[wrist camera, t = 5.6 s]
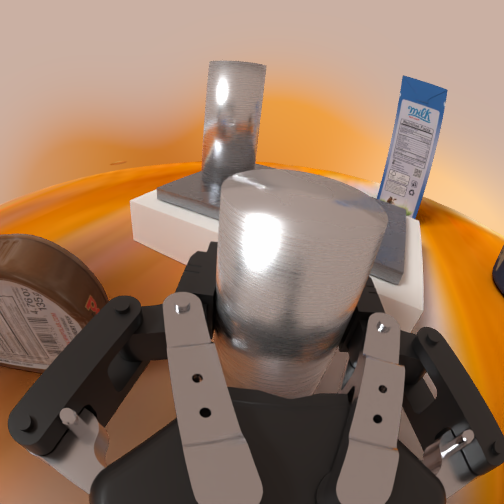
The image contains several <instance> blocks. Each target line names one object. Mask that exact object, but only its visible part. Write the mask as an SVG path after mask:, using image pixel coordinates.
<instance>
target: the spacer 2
mask: <svg viewBox="0 0 504 504" xmlns="http://www.w3.org/2000/svg"><path fill="white" fill-rule="evenodd" d="M387 224H388V216H387V213H386V212H385V210H384V209H383V208H382V206H381V205H380V204H379V203H378V202H376V201H375V200H374V199H373V198H371V197H370V196H368V195H367V194H365V193H363V192H361V191H360V190H358V189H356V188H354V187H352V186H349V185H347V184H345V183H342V182H339V181H336V180H333V179H330V178H327V177H323V176H320V175H315V174H311V173H306V172H300V171H293V170H282V169H259V170H250V171H245V172H240V173H237V174H234V175H232V176H230V177H229V178H227V179H226V180H225V181H224V182H223V183H222V186H221V197H220V212H219V229H218V247H217V267H216V293H215V323H214V344H215V346H216V350H217V353H218V357H219V360H220V364H221V367H222V371H223V374H224V378H225V381H226V385H227V386H228V387H235V388H244V389H254V390H260V391H263V392H266V393H270V394H273V395H276V396H280V397H283V398H287V399H295V398H300V397H305V396H310V395H313V393H314V391H315V389H316V387H317V386H318V384H319V382H320V380H321V378H322V376H323V374H324V373H325V371H326V369H327V367H328V365H329V363H330V361H331V359H332V357H333V355H334V353H335V351H336V349H337V347H338V345H339V343H340V341H341V339H342V336H343V334H344V332H345V330H346V328H347V326H348V324H349V321H350V319H351V317H352V315H353V312H354V310H355V308H356V305H357V303H358V301H359V298H360V296H361V294H362V291H363V289H364V286H365V284H366V281H367V279H368V276H369V274H370V271H371V269H372V266H373V264H374V261H375V258H376V255H377V253H378V250H379V247H380V244H381V242H382V239H383V236H384V233H385V230H386V227H387Z"/></svg>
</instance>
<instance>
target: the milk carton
mask: <svg viewBox="0 0 504 504" xmlns="http://www.w3.org/2000/svg"><path fill="white" fill-rule="evenodd" d="M446 96H447V90H446V89H444V88H441V87H438V86H435V85H433V84H429V83H426V82H423V81H420V80H417V79H413V78H410V77H407V76H403V79H402V85H401V91H400V98H399V103H398V109H397V114H396V119H395V125H394V130H393V134H392V139H391V144H390V148H389V152H388V157H387V161H386V165H385V169H384V174H383V177H382V181H381V185H380V189H379V192H378V196H377V199H379V200H381V201H384V202H387V203H390V204H393V205H396V206H398V207H401V208H404V209H406V216H408V217H410V218H413V219H415V218H416V215H417V212H418V209H419V206H420V203H421V200H422V197H423V193H424V190H425V187H426V184H427V180H428V177H429V173H430V170H431V166H432V162H433V158H434V154H435V150H436V146H437V141H438V138H439V133H440V128H441V123H442V119H443V113H444V107H445V102H446Z"/></svg>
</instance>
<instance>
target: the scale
mask: <svg viewBox="0 0 504 504" xmlns="http://www.w3.org/2000/svg"><path fill="white" fill-rule="evenodd" d="M130 208H131V219H132V229H133V238H134V240H135V241H137V242H139V243H141V244H143V245H145V246H147V247H149V248H151V249H153V250H155V251H157V252H160V253H162V254H164V255H166V256H168V257H170V258H172V259H174V260H176V261H178V262H181V263H183V264H185V265H187V263H188V261H189V258H190V257H191V256H192V255H193V254H194V253H196V252H197V251H203V252H207V250H208V247H209V244H210V242H211V241H213V242H218V229H219V220H218V219H215V218H212V217H209V216H206V215H204V214H201V213H198V212H195V211H192V210H189V209H186V208H183V207H180V206H177V205H174V204H171V203H168V202H165V201H162V200H159V199H157V189H156V190H154V191H151V192H149V193H147V194H144V195H142V196H139V197H137V198H135V199H132V200H130ZM369 276H370V277H371V278H372V281H373V283H374V286H375V288H376V291H377V294H378V295H379V298H380V300H381V303H382V306H383V308H384V311H385V313H386V314H388V315H390V316H392V317H393V318H394V319H395V320H396V321H397V322H398V323H399V325H400V330H402V331H405V332H409V333H411V331H412V329H413V328H414V326H415V324H416V323H417V321H418V319H419V318H420V316H421V314H422V312H423V304H424V293H423V260H422V245H421V233H420V223H419V221H418V220H415V219H413V218H410V217H408V216H406V242H405V261H404V273H403V275H402V277H401V280H400V282H399V284H398V285H396V284H394V283H391V282H389V281H386V280H383V279H381V278H378V277H376V276H373V275H370V274H369Z"/></svg>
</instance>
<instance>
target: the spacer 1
mask: <svg viewBox="0 0 504 504" xmlns="http://www.w3.org/2000/svg"><path fill="white" fill-rule="evenodd" d="M265 74H266V66H265V65H262V64H257V63H249V62H239V61H211V62H209V72H208V83H207V94H206V107H205V121H204V122H205V123H204V136H203V155H202V175H201V176H202V178H203V179H204V180H205V181H207V182H210V183H214V184H219V185H222V183H223V182H224V181H225V180H226V179H227V178H229V177H230V176H232V175H234V174H237V173H240V172H245V171H250V170H255V161H256V151H257V143H258V134H259V124H260V117H261V108H262V99H263V91H264V82H265Z"/></svg>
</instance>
